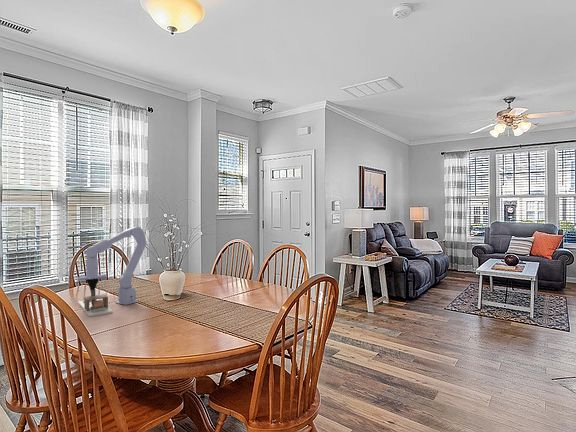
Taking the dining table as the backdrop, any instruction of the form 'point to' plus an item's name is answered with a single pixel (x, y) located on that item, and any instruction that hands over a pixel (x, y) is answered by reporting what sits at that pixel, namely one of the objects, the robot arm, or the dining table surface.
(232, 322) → the dining table surface
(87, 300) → the tunnel deck
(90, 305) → the sled
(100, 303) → the block
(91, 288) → the robot arm
